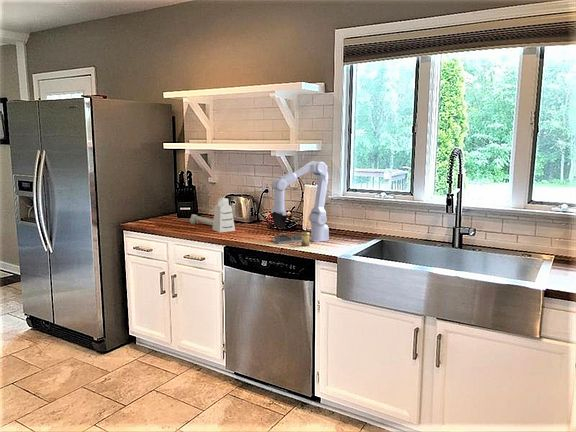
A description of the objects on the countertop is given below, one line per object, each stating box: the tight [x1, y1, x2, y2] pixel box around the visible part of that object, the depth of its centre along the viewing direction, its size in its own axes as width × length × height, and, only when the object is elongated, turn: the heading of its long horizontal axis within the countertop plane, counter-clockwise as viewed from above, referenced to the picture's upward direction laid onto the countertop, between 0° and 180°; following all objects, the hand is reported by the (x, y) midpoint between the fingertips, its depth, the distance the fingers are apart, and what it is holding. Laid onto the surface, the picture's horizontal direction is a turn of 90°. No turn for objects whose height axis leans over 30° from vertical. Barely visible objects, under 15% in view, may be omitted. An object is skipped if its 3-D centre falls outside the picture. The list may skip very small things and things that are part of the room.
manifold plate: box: [271, 233, 302, 245], centre depth 267 cm, size 18×9×3 cm, turn 114°
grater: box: [212, 197, 236, 233], centre depth 297 cm, size 10×10×20 cm
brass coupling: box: [300, 231, 311, 247], centre depth 255 cm, size 5×5×7 cm
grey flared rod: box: [189, 213, 214, 227], centre depth 317 cm, size 5×7×25 cm
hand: (279, 226), depth 255 cm, fingers open, 7 cm apart
